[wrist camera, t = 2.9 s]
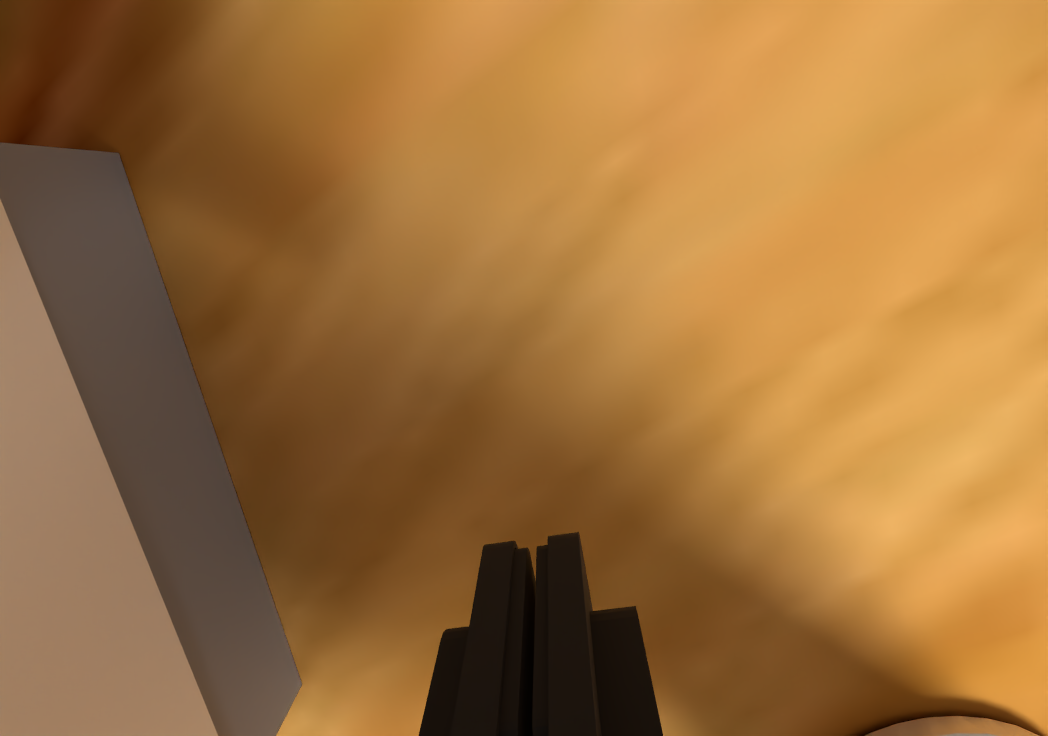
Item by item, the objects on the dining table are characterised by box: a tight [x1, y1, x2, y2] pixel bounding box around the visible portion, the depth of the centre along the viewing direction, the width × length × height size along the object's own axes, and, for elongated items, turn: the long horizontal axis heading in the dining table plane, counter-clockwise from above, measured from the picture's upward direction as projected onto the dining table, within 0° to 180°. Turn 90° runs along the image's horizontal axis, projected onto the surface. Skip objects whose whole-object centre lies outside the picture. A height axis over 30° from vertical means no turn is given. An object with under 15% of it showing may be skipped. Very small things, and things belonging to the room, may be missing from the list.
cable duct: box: [0, 143, 302, 736], centre depth 20 cm, size 22×13×6 cm, turn 10°
